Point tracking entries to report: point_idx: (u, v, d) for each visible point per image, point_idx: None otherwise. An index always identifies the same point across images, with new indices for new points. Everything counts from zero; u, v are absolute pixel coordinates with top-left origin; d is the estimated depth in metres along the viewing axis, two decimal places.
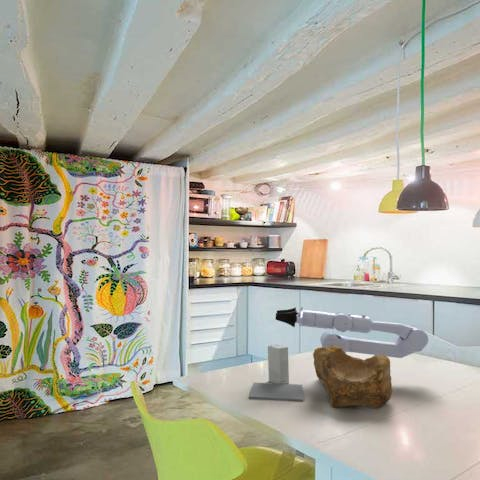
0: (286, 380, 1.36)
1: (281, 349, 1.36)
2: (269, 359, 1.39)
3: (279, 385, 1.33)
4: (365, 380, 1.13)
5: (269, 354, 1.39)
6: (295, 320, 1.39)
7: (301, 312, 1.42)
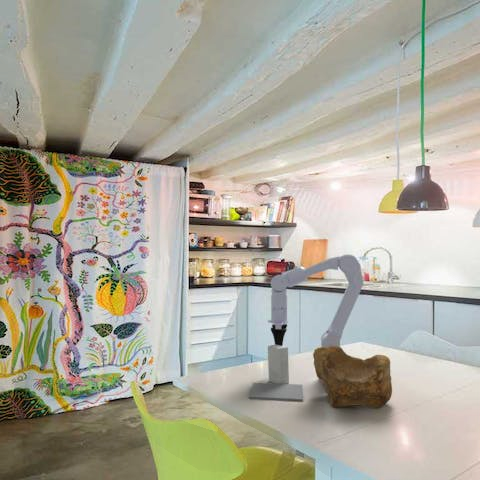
0: (286, 380, 1.36)
1: (281, 349, 1.36)
2: (269, 359, 1.39)
3: (279, 385, 1.33)
4: (365, 380, 1.13)
5: (269, 354, 1.39)
6: (279, 329, 1.41)
7: (272, 322, 1.45)
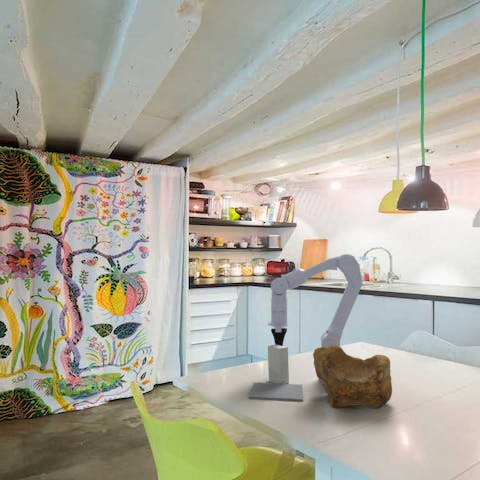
0: (286, 380, 1.36)
1: (281, 349, 1.36)
2: (269, 359, 1.39)
3: (279, 385, 1.33)
4: (365, 380, 1.13)
5: (269, 354, 1.39)
6: None
7: (272, 325, 1.44)
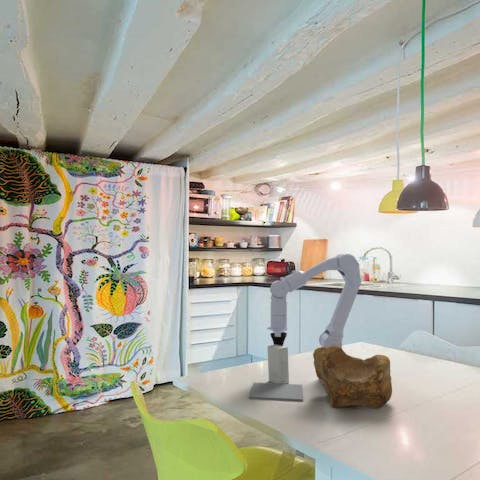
0: (286, 380, 1.36)
1: (281, 349, 1.36)
2: (269, 359, 1.39)
3: (279, 385, 1.33)
4: (365, 380, 1.13)
5: (269, 354, 1.39)
6: None
7: (271, 329, 1.41)
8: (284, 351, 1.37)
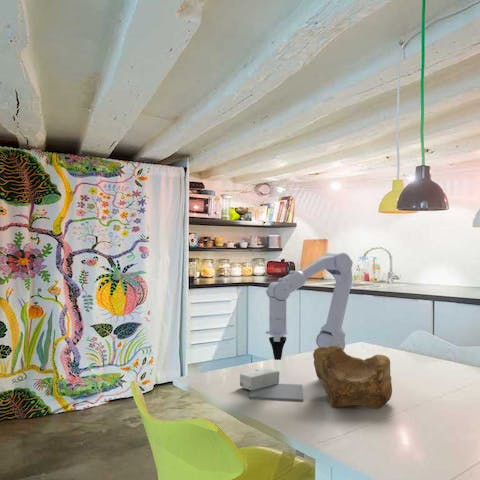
0: (276, 375, 1.34)
1: (252, 387, 1.27)
2: None
3: (279, 385, 1.33)
4: (365, 380, 1.13)
5: None
6: None
7: (270, 334, 1.33)
8: (254, 382, 1.28)
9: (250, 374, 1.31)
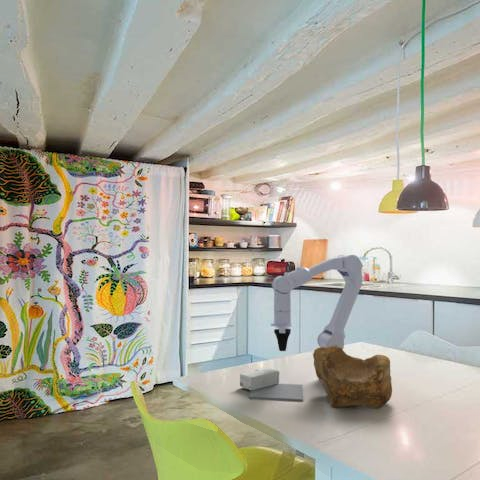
0: (276, 375, 1.34)
1: (252, 387, 1.27)
2: None
3: (279, 385, 1.33)
4: (365, 380, 1.13)
5: None
6: None
7: (275, 326, 1.38)
8: (254, 382, 1.28)
9: (250, 374, 1.31)
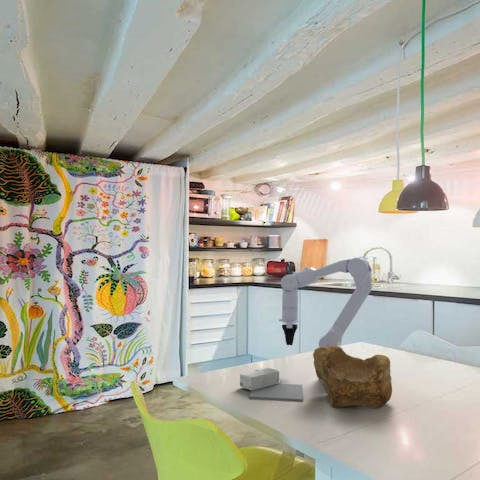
0: (276, 375, 1.34)
1: (252, 387, 1.27)
2: None
3: (279, 385, 1.33)
4: (365, 380, 1.13)
5: None
6: None
7: (283, 321, 1.47)
8: (254, 382, 1.28)
9: (250, 374, 1.31)
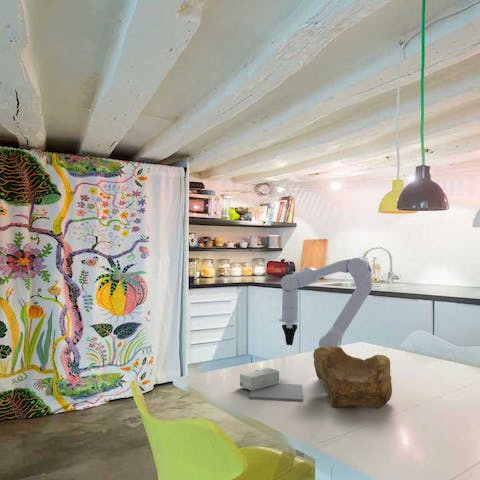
0: (276, 375, 1.34)
1: (252, 387, 1.27)
2: None
3: (279, 385, 1.33)
4: (365, 380, 1.13)
5: None
6: None
7: (283, 321, 1.47)
8: (254, 382, 1.28)
9: (250, 374, 1.31)
